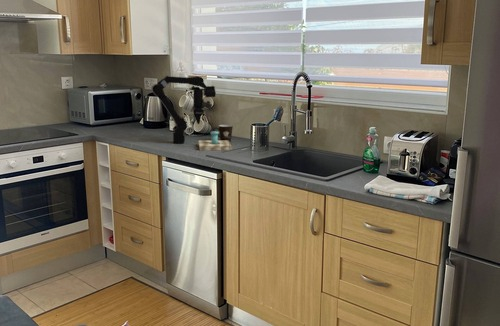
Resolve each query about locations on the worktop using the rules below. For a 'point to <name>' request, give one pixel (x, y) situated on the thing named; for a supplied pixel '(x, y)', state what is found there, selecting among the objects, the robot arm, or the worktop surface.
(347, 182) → the worktop surface
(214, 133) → the peg
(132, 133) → the worktop surface
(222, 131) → the coffee mug
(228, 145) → the keyhole board
